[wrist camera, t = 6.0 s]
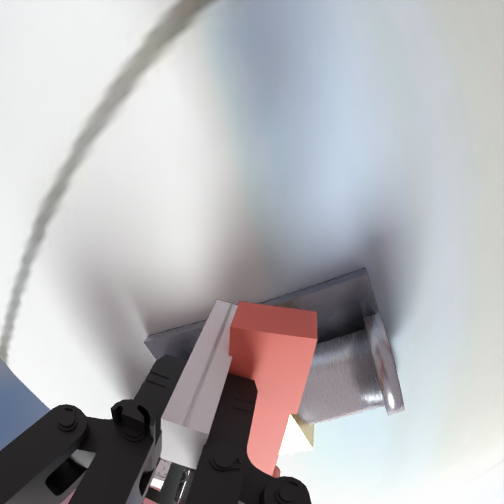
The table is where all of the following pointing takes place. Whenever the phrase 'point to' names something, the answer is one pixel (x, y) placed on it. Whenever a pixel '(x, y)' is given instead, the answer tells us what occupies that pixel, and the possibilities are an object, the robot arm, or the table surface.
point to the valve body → (325, 356)
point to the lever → (272, 371)
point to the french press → (171, 482)
